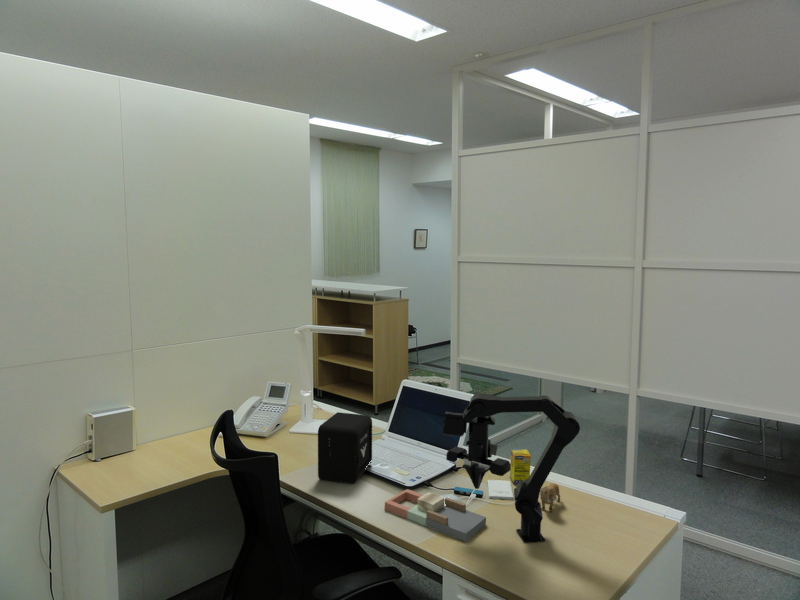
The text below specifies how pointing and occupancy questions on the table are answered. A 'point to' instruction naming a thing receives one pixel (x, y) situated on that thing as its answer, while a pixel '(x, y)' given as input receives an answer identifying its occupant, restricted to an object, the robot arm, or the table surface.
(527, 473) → the supplement box
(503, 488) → the external hard drive
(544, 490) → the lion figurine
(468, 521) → the board
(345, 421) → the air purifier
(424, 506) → the block
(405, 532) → the table surface
